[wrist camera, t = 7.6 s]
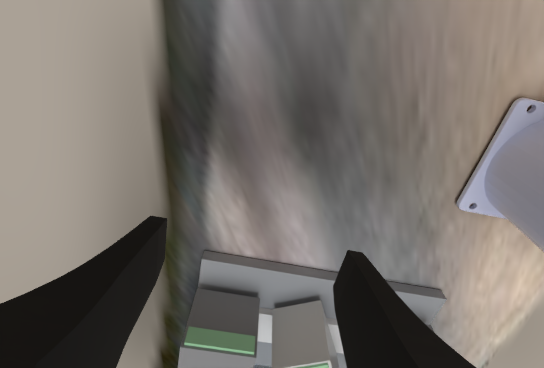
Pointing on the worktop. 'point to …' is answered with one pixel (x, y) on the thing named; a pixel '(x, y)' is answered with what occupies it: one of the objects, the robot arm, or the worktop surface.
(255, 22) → the worktop surface
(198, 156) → the worktop surface
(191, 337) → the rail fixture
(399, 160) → the worktop surface
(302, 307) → the module
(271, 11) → the worktop surface
